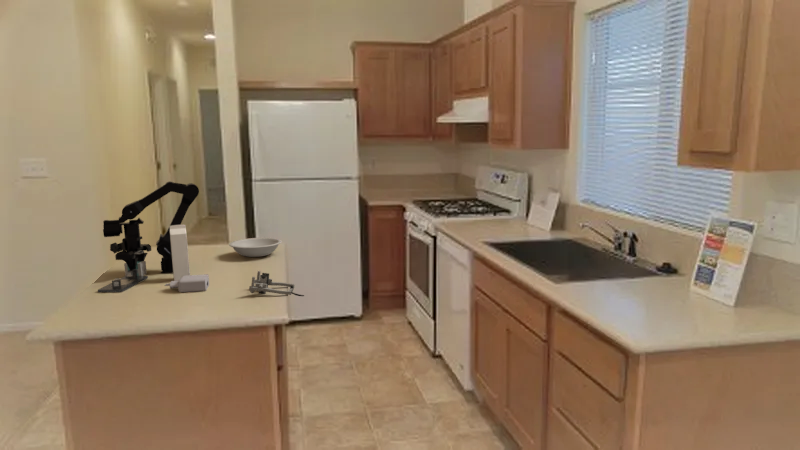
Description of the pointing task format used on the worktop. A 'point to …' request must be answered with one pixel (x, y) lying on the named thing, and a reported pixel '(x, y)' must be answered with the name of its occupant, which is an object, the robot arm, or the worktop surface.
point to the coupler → (140, 266)
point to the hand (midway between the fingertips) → (135, 272)
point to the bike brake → (264, 281)
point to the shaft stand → (123, 282)
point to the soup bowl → (255, 246)
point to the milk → (179, 251)
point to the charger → (191, 283)
